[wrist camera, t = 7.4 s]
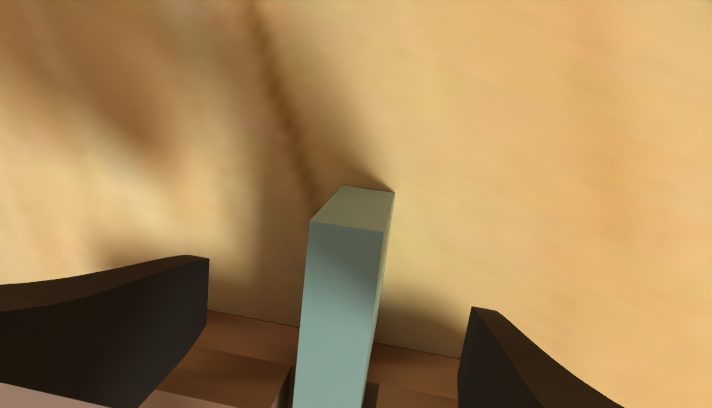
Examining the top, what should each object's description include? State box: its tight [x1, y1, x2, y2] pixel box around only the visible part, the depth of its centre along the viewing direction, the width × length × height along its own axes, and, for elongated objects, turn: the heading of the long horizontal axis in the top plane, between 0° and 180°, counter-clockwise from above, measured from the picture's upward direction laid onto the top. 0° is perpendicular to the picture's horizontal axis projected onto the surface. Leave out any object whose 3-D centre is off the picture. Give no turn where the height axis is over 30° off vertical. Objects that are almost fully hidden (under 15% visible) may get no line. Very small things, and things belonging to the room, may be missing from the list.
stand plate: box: [138, 310, 460, 408], centre depth 16 cm, size 14×2×5 cm, turn 83°
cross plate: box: [293, 185, 395, 408], centre depth 16 cm, size 14×2×5 cm, turn 173°
